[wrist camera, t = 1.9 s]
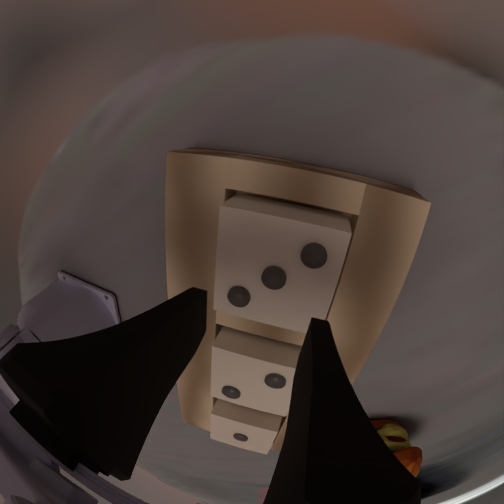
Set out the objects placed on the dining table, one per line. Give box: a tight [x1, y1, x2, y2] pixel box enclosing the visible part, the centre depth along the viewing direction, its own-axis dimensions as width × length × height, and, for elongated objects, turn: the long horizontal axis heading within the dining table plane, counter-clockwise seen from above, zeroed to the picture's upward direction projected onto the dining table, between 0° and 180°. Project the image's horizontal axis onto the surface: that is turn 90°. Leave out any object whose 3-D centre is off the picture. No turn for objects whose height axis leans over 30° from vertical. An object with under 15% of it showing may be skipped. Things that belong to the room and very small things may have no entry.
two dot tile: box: [211, 326, 302, 417], centre depth 18 cm, size 6×6×3 cm
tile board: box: [165, 148, 431, 451], centre depth 20 cm, size 14×28×3 cm, turn 173°
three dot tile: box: [213, 194, 352, 333], centre depth 14 cm, size 6×6×3 cm
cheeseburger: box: [370, 419, 422, 477], centre depth 21 cm, size 10×11×10 cm
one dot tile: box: [211, 398, 282, 454], centre depth 22 cm, size 6×6×3 cm
